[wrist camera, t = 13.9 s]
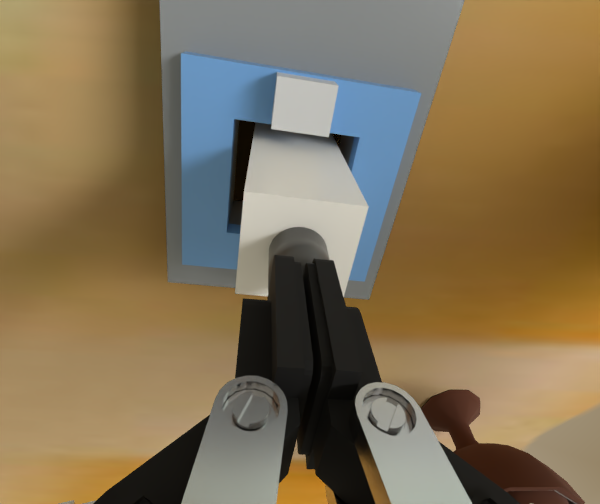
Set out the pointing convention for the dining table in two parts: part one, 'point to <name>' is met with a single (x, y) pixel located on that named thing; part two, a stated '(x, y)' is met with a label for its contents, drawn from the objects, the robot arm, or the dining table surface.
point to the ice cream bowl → (496, 453)
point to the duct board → (307, 46)
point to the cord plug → (297, 207)
